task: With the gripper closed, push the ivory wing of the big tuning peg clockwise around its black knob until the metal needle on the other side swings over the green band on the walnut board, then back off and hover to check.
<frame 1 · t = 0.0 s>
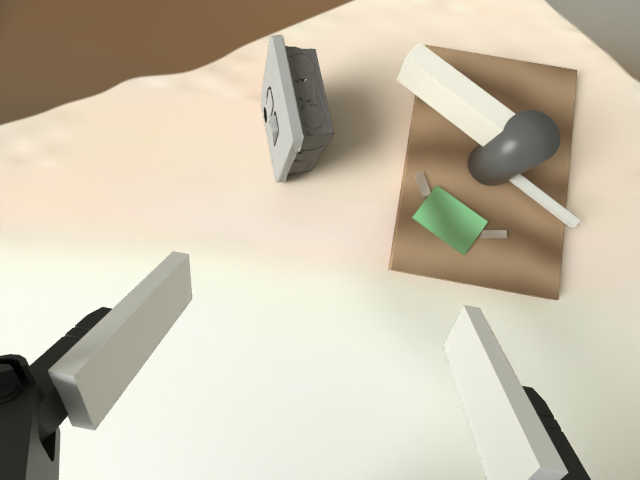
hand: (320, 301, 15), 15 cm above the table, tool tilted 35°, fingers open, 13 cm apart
electrical switch: (293, 137, 32), on the table
board: (481, 169, 31), on the table
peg: (497, 143, 27), point 5 cm above the table, hinge at 60.0°
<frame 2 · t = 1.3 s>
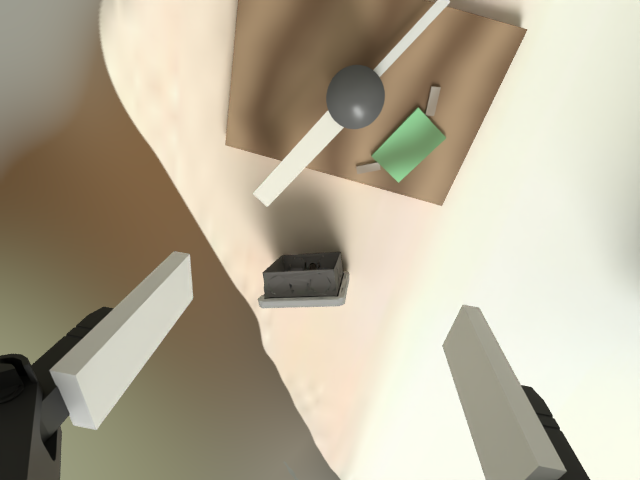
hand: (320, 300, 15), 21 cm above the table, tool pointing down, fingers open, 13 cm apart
electrical switch: (310, 259, 39), on the table
board: (356, 94, 29), on the table
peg: (345, 108, 26), point 4 cm above the table, hinge at 60.0°
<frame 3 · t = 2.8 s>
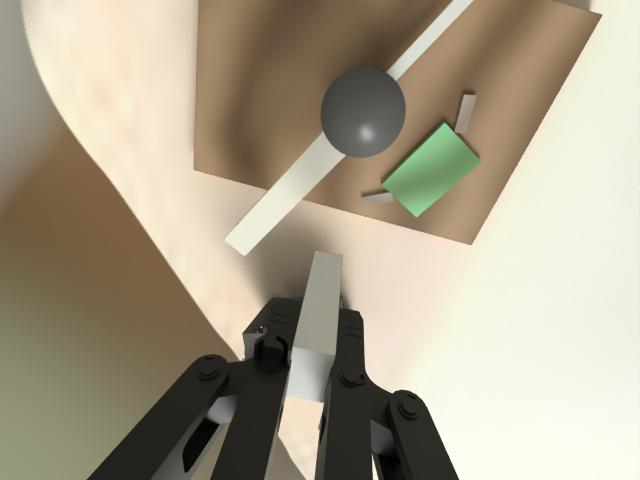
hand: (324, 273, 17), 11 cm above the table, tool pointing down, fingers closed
electrical switch: (305, 303, 32), on the table
board: (361, 104, 22), on the table
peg: (347, 125, 19), point 5 cm above the table, hinge at 60.0°
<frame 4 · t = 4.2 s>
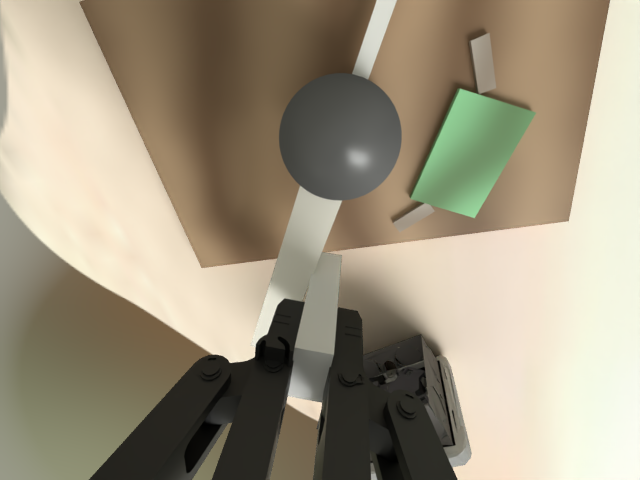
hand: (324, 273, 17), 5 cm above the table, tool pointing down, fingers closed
electrical switch: (382, 355, 27), on the table
board: (345, 118, 17), on the table
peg: (332, 156, 14), point 5 cm above the table, hinge at 59.8°, touching gripper
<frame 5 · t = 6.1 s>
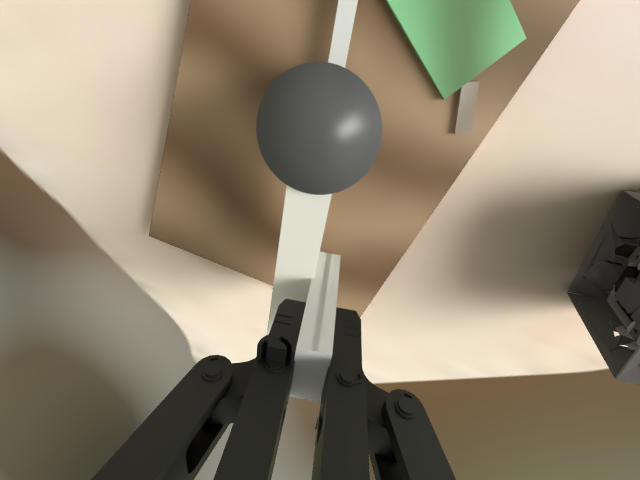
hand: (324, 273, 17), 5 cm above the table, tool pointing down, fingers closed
electrical switch: (603, 248, 20), on the table
board: (329, 113, 17), on the table
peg: (319, 152, 14), point 4 cm above the table, hinge at 13.6°, touching gripper
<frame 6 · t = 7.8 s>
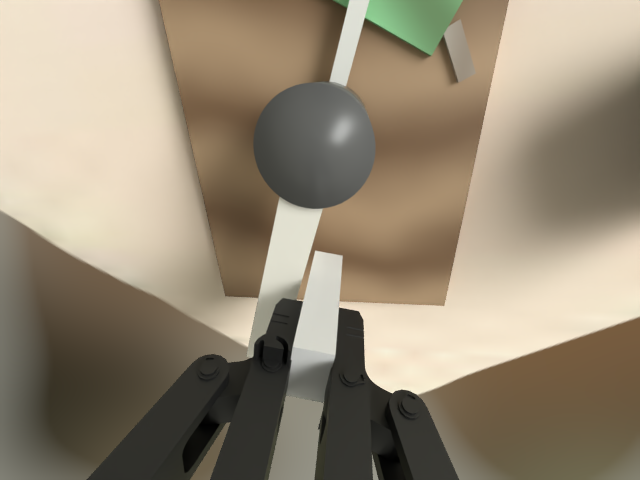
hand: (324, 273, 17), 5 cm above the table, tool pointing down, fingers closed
board: (329, 124, 17), on the table
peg: (314, 164, 14), point 4 cm above the table, hinge at -16.6°
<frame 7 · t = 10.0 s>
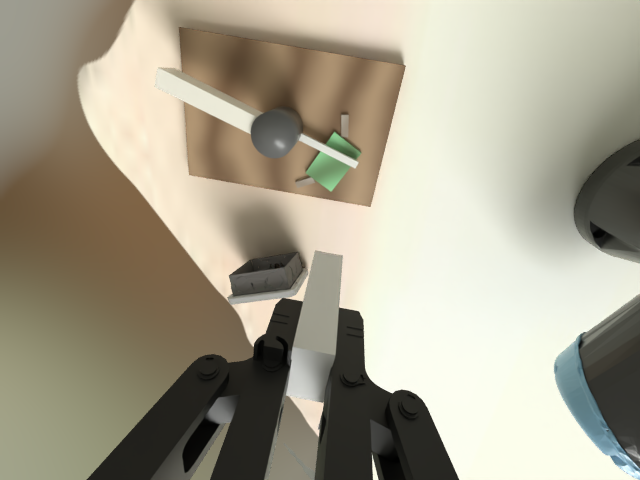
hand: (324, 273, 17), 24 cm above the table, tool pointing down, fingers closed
electrical switch: (275, 260, 46), on the table
board: (286, 125, 36), on the table
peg: (268, 125, 32), point 4 cm above the table, hinge at -16.6°
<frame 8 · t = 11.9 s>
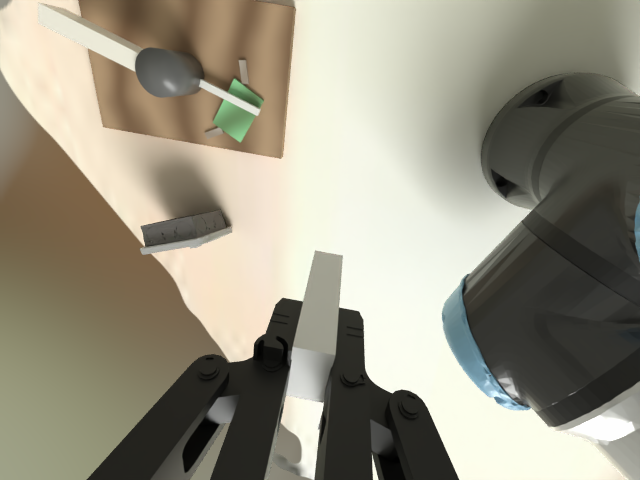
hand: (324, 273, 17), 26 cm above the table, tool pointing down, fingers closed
electrical switch: (200, 219, 47), on the table
board: (192, 74, 37), on the table
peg: (161, 68, 33), point 4 cm above the table, hinge at -16.6°
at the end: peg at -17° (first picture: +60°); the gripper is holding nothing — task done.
